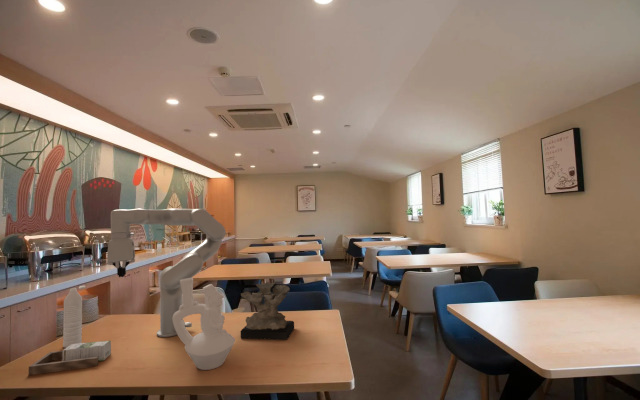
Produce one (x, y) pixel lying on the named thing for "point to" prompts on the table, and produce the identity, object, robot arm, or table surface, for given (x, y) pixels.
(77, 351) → the syrup box
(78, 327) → the water bottle
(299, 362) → the table surface
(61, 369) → the u rest
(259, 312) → the coral
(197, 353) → the white sculpture
